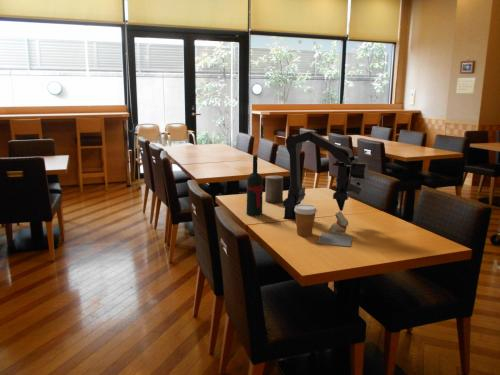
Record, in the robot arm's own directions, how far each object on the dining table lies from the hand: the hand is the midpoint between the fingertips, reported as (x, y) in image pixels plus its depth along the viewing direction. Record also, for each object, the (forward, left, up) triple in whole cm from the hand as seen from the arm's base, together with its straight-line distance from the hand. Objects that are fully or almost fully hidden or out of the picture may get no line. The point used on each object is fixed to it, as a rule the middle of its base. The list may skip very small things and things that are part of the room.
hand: (341, 210), depth 198 cm
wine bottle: (-42, +6, -8) cm, 43 cm away
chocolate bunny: (0, -9, -8) cm, 12 cm away
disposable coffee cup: (-13, -16, -8) cm, 22 cm away
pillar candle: (-40, +35, -8) cm, 53 cm away
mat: (0, -19, -8) cm, 21 cm away
